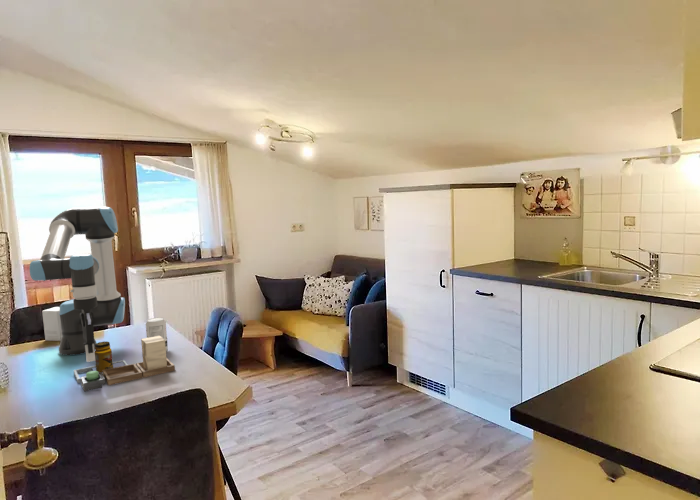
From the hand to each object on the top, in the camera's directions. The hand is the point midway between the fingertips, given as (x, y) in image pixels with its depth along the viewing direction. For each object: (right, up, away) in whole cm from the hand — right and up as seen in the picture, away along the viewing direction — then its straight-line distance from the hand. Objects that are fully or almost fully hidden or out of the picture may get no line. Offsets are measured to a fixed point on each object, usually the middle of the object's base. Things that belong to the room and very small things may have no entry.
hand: (90, 360), depth 185 cm
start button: (0, -7, +1) cm, 7 cm away
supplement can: (+10, -5, +38) cm, 39 cm away
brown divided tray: (+13, -8, +10) cm, 19 cm away
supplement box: (-49, -3, +66) cm, 82 cm away
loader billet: (+18, -6, +13) cm, 24 cm away
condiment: (-3, -8, +15) cm, 17 cm away
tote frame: (-3, -8, +15) cm, 17 cm away
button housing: (0, -10, +1) cm, 10 cm away
